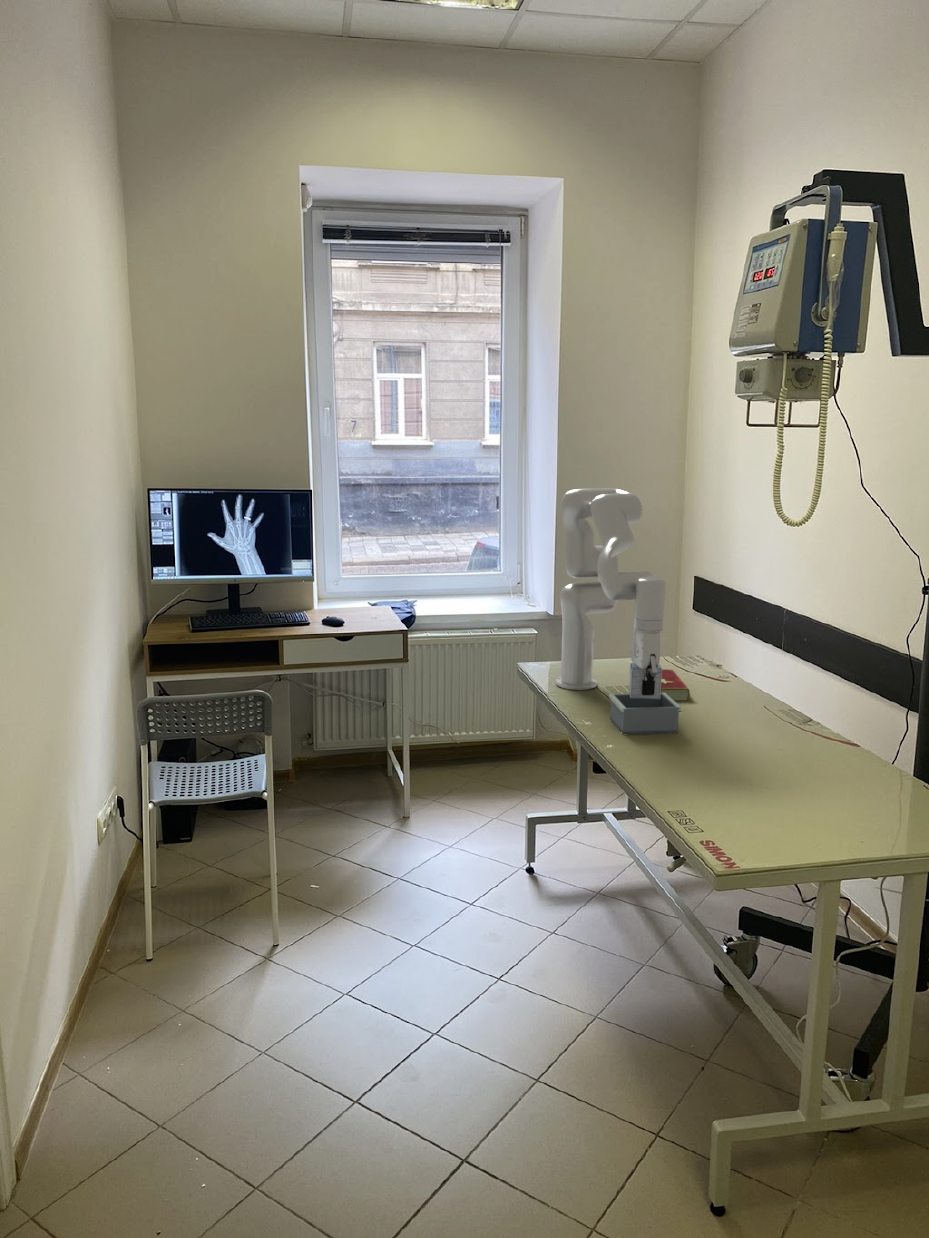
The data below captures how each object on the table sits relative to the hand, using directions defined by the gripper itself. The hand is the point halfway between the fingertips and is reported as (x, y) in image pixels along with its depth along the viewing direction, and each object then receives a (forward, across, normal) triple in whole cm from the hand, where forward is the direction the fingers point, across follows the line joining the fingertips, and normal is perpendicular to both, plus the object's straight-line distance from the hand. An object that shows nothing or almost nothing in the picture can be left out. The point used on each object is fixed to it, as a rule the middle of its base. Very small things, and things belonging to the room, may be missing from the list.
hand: (644, 690), depth 241 cm
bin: (+10, 0, 0) cm, 10 cm away
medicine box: (+2, 0, 0) cm, 2 cm away
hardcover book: (+11, -32, +16) cm, 37 cm away
